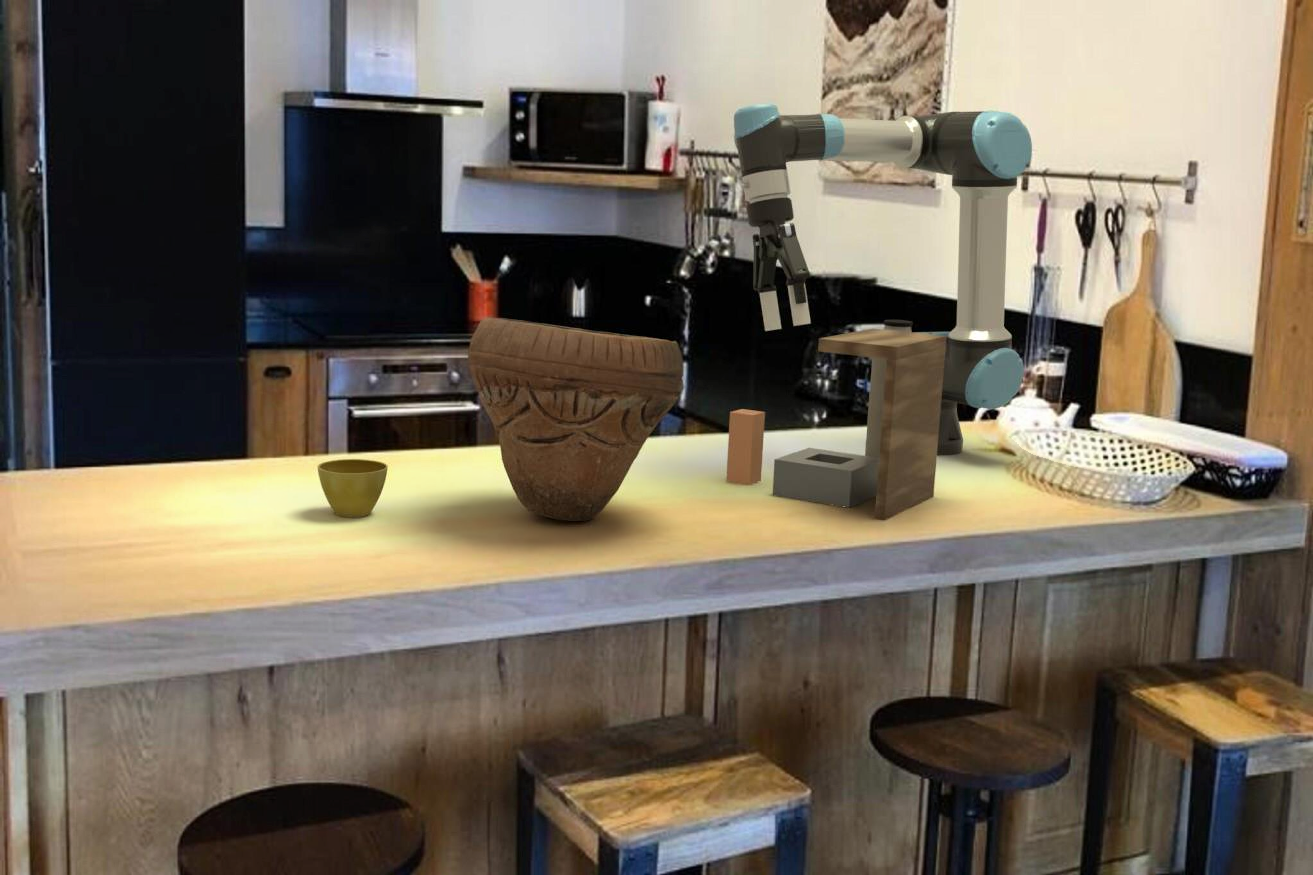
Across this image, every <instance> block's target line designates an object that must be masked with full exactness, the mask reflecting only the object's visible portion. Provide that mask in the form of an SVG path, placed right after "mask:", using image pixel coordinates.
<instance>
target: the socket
mask: <svg viewBox="0 0 1313 875" xmlns="http://www.w3.org/2000/svg"><path fill="white" fill-rule="evenodd" d="M773 462H774V465H773V479H772V494H771V495H772V496H775V495H776V496H777V497H782V498H787V497H788V498H787V499H793V500H799V499H800V501H806V502H811V501H812V502H813V503H817V502H820V503H819V504H823V503H825V505H829V504H833V505H832V506H835V505H837V506H836V507H841V506H845V507H844V508H847V507H848V508H849V507H850V508H852V507H855V506H856V504H857V505H859V504H860V502H861V503H863V502H865V501H867V499H868V500H870V499H872V498H874V497H875V498H876V494H877V481H878V468H879V458H876V457H869V456H865V455H863V454H861V455H860V454H856V453H848V452H841V451H833V450H827V449H821V448H813V447H808V448H807V447H806V448H805V449H801V450H798V451H796V452H795V451H794V452H791V453H789V454H787V455H784V456H780V457H776V458H775V459H774V461H773ZM851 506H852V507H851Z"/></svg>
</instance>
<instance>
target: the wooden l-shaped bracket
mask: <svg viewBox="0 0 1313 875" xmlns="http://www.w3.org/2000/svg"><path fill="white" fill-rule="evenodd" d="M883 329H884V328H881V329H879V328H869V329H863V330H857V331H852V332H851V331H850V332H847V333H841V334H837V335H830V336H825V337H820V338H818V347H817V352H819V353H820V352H822V353H830V354H831V353H832V354H838V355H849V356H858V357H865V358H866V357H867V358H872V357H874V358H883V359H887V360H886V374H885V387H884V401H883V414H882V427H881V441H880V454H879V468H878V481H877V494H876V496H875V510H874V511H875V512H874V520H879V521H881V520H882V521H886V520H888V519H890V518H892V517H894V516H896V515H898V514H900V513H903V512H904V511H906V510H908V509H911V508H913V507H914V506H916V505H918V504H920V503H922V502H925V501H927V500H929V499H930V498H931V499H932V498H933V497H934V495H935V494H934V493H935V492H934V491H935V480H936V472H937V471H936V470H937V460H938V458H937V457H938V454H937V447H938V435H939V423H940V410H941V398H942V386H943V374H944V362H945V349H946V337H947V336H942V335H932V334H922V333H913V332H902V331H892V330H883Z"/></svg>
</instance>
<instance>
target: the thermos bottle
mask: <svg viewBox="0 0 1313 875" xmlns="http://www.w3.org/2000/svg"><path fill="white" fill-rule="evenodd" d="M913 322H914V321H910V320H904V319H885V320H884V321H883V325H884V327H883V328H882V329H883V330H892V331H902V332H912V327H913ZM912 333H913V332H912ZM886 360H887V359H883V358H874V357H871V374H870V384H869V394H868V395H869V396H868V398H869V399H868V409H867V411H868V412H867V421H866V422H867V423H866V424H867V425H866V437H865V450H864V451H865V453H864V456H869V457H876V458H879V454H880V441H881V427H882V414H883V401H884V387H885V374H886Z"/></svg>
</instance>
